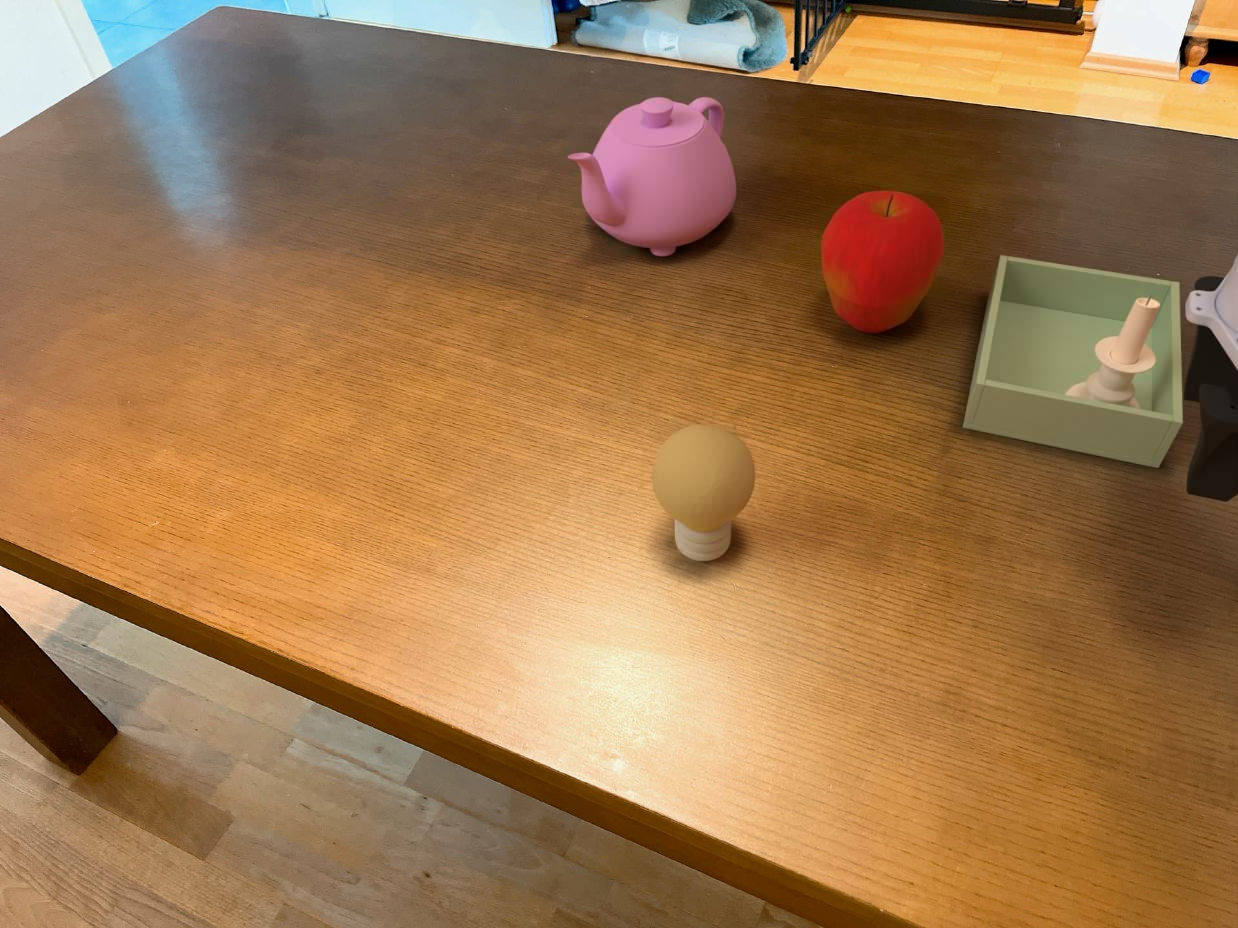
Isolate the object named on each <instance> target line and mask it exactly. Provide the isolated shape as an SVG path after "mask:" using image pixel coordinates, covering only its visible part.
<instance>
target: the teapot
mask: <svg viewBox="0 0 1238 928" xmlns="http://www.w3.org/2000/svg"><path fill="white" fill-rule="evenodd" d="M707 110H708V119H707V118H706V117H705V116H704V114H703V113H704V112H706V111H707ZM724 112H725V111H724V108H723V106H722V104H721V103H720V102H719V101H718V100H716V99H714V98H712V97H709V96H702V97H697V98H696V99H694V100H693V101H692V102H690V103H689V104H685V103H682V102H678V101H672V99H670V98H666V97H662V96H661V97H660V96H656V97H650V98H647V99H644V100H643V101H642V102H641V103H637V104H633V105H631V106H629V107H627V108H625V109H623V110H621V111H620V112H619V113H618V114H616V115H615V116H614V117H613V118H612V119H611V121H610V123H609V124H608V125H607V127H606V128H605V130H604V131H603V133H602V135H601V137H600V138H599V141H598V143H597V144H596V146H595V148H594V150H593V153H592V154H591V153H588V152H575V153H574V152H573V153H571V154H569V155H567V159H569V160H571V161H573V162H574V163H577V165H578V167H579V168H580V172H581V200H582V205H583V207H584V210H585V211H586V213H587V214H588V215H589V216H590V218H591V220H593V221H594V223H595V224H596V225H598V227H600V228H601V229H602V230H604V231H605V232H606V233H607V234H608V235H610V236H612V237H613V238H615V239H616V240H618V241H620V242H622V243H625V244H628V245H631V246H635V247H640V248H647V249H649V250H650V252H651V253H652V255H654V256H658V257H667V256H671V255H672V254H674V253H675V251H676V249H677V247H681V246H684V245H687V244H690V243H694V242H696V241H699V240H700V239H702V238H704V237H705V236H707V235H708V234H709V233H711V232H712V231H713V230H714V229H716V228H717V227H718V226H719V225H721V223H722V222H723V221H724V220H725V219H726V218H727V216H728V215H729V214H730V213H731V211H732V209H733V207H734V206H735V205H734V204H735V202H736V199H737V181H736V175H735V170H734V166H733V162H732V160H731V157H730V154H729V151H728V148H727V147H726V145H725V144H724V143H723V141H722V140H721V139H722V135H723V128H724V122H725V121H724V120H725V113H724Z"/></svg>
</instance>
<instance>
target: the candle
mask: <svg viewBox="0 0 1238 928" xmlns="http://www.w3.org/2000/svg"><path fill="white" fill-rule="evenodd" d="M1151 296H1152V295H1150V297H1149V298H1138V299H1136V301H1135V303H1134V305H1133V307H1132V309H1131V311H1130V313H1129V315H1128V317H1127V319H1126V321H1125V323H1124V325H1123V328H1122V330H1121V332H1120V334H1119V336H1114V337H1107V338H1104V339H1102V340H1101V341H1099V342H1098V343H1097V345H1096V346H1095V354H1096V356H1097V358H1098V359H1099V360H1100V361H1101V362H1102V363H1103V364H1102V365H1101V367H1100V371H1098V372H1095V373H1093V374H1091V375H1090V376H1089V377H1088V379H1087V381H1086V382H1082V383H1079V384H1076V385H1074V386H1072V387H1071V388H1069V389H1068V391H1067V392H1066V393H1065V395H1069V396H1074V397H1080V398H1085V399H1090V400H1095V401H1100V402H1106V403H1111V404H1116V405H1121V406H1127V407H1132V408H1137V409H1140V406H1139V404H1138V403H1137V401H1136V400H1135V398H1134V397H1133V396H1134V394H1135V387H1134V385H1133V383H1132V382H1131V381H1132V380H1133V378H1134V375H1135V373H1142V372H1145V371H1148V370H1149V369H1151V368H1152V367H1153V366H1154V364H1155V360H1156V358H1155V355H1154V353H1153V351H1152V350H1151V349H1150V348H1149V347H1148V346H1146V345H1145V344H1144V343H1145V341H1146V339H1147V336H1148V334H1149V332H1150V329H1151V327H1152V325H1153V322H1154V320H1155V317H1156V314H1157V312H1158V309H1159V307H1160V303H1159V302H1158V301H1156V300H1153V299H1151Z"/></svg>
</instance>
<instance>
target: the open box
mask: <svg viewBox="0 0 1238 928" xmlns="http://www.w3.org/2000/svg"><path fill="white" fill-rule="evenodd" d="M1180 284H1181V283H1180V281H1173V280H1172V281H1171V280H1168V279H1167V280H1166V279H1160V278H1154V277H1148V276H1147V277H1146V276H1141V275H1134V274H1127V273H1121V272H1114V271H1108V270H1101V269H1095V268H1094V269H1093V268H1088V267H1081V266H1075V265H1068V264H1062V263H1055V262H1050V261H1049V262H1048V261H1042V260H1036V259H1029V258H1023V257H1016V256H1011V255H1004V254H1000V255H999V257H998V262H997V265H996V269H995V272H994V275H993V279H992V283H991V287H990V289H989V293H988V297H987V300H986V306H985V311H984V317H983V321H982V326H981V331H980V335H979V336H980V337H979V343H978V346H977V352H976V356H975V357H976V358H975V363H974V367H973V373H972V379H971V383H970V388H969V392H968V393H969V394H968V398H967V404H966V409H965V413H964V414H965V415H964V419H963V424H962V428H963V429H967V430H972V431H976V432H981V433H986V434H990V435H996V436H1001V437H1005V438H1010V439H1016V440H1021V441H1023V442H1024V441H1025V442H1030V443H1034V444H1039V445H1044V446H1048V447H1054V448H1058V449H1063V450H1068V451H1073V452H1077V453H1083V454H1088V455H1091V456H1097V457H1102V458H1107V459H1112V460H1116V461H1121V462H1127V463H1130V464H1136V465H1141V466H1145V467H1150V468H1155V469H1159V468H1160V466H1161V465H1162V462H1163V460H1164V459H1165V457H1166V455H1167V453H1168V451H1169V450H1170V448H1171V446H1172V444H1173V442H1174V441H1175V439H1176V436H1177V435H1178V434H1179V431H1180V429H1181V427H1182V426H1183V424H1184V414H1183V413H1184V411H1183V409H1184V408H1183V407H1184V406H1183V375H1182V374H1183V373H1182V371H1183V370H1182V369H1183V368H1182V330H1181V329H1182V327H1181V326H1182V325H1181V290H1180V289H1181V288H1180V287H1181V285H1180ZM1150 295H1152V296H1151V299H1153V300H1156V301H1158V302H1159V303H1160V307H1159V309H1158V312H1157V314H1156V317H1155V320H1154V322H1153V325H1152V327H1151V329H1150V332H1149V334H1148V336H1147V339H1146V341H1145V343H1144V344H1145V345H1146V346H1148V347H1149V348H1150V349H1151V350H1152V351H1153V353H1154V355H1155V358H1156V360H1155V364H1154V366H1153V367H1152V368H1151V369H1149V370H1148V371H1145V372H1142V373H1135V375H1134V378H1133V380H1132V381H1131V382H1132V383H1133V385H1134V387H1135V394H1134V396H1133V397H1134V398H1135V400H1136V401H1137V403H1138V404H1139V406H1140V409H1137V408H1132V407H1127V406H1121V405H1116V404H1111V403H1106V402H1100V401H1095V400H1090V399H1085V398H1080V397H1074V396H1069V395H1065V393H1066V392H1067V391H1068V389H1069V388H1071V387H1072V386H1074V385H1076V384H1079V383H1082V382H1086V381H1087V379H1088V377H1089V376H1090V375H1091V374H1093V373H1095V372H1098V371H1100V367H1101V365H1102V364H1103V363H1102V362H1101V361H1100V360H1099V359H1098V358H1097V356H1096V354H1095V346H1096V345H1097V343H1098V342H1099V341H1101V340H1102V339H1104V338H1107V337H1114V336H1119V334H1120V332H1121V330H1122V328H1123V325H1124V323H1125V321H1126V319H1127V317H1128V315H1129V313H1130V311H1131V309H1132V307H1133V305H1134V303H1135V301H1136V299H1138V298H1149V297H1150Z"/></svg>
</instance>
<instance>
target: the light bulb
mask: <svg viewBox="0 0 1238 928" xmlns="http://www.w3.org/2000/svg"><path fill="white" fill-rule="evenodd" d="M755 468H756V467H755V461H754V458H753V456H752V453H751V451H750V449H749V447H748V446H747V445H746V443H745V442H744V441H743V440H742V439H741V438H740V437H739V436H738V435H735V434H734V433H732V432H730V431H729V430H727V429H725V428H723V427H719V426H715V425H711V424H703V423H699V424H697V423H696V424H695V423H694V424H691V425H686V426H685V427H682V428H681V429H679V430H677V431H675V432H674V433H673V434H672V435H670V436H669V437H668V439H666V440H665V441H664V443H663V444H662V445H661V447H660V448H659V450H658V451H657V453H656V455H655V458H654V461H653V465H652V470H651V485H652V489H653V492H654V496H655V497H656V499H657V501H658V503H659V504H660V506H661V507H662V509H663V510H664V512H666V513H667V514H668V516H670V517H671V518H673V519H674V542H675V545H676V547H677V549H678V550H679V552H680V553H681V554H682V555H683V556H685V557H687V558H688V559H691V560H693V561H698V562H709V561H713V560H716V559H719V558H720V557H721V556H722V555H724V554H726V552H727V550H728V549H729V547H730V545H731V540H732V521H733V519H734V518H736V517H737V516H739V514H740V513H741V512H743V510H744V509H745V508H746V507H747V505H748V503H749V501H750V500H751V497H752V495H753V491H754V488H755V484H756V469H755Z"/></svg>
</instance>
